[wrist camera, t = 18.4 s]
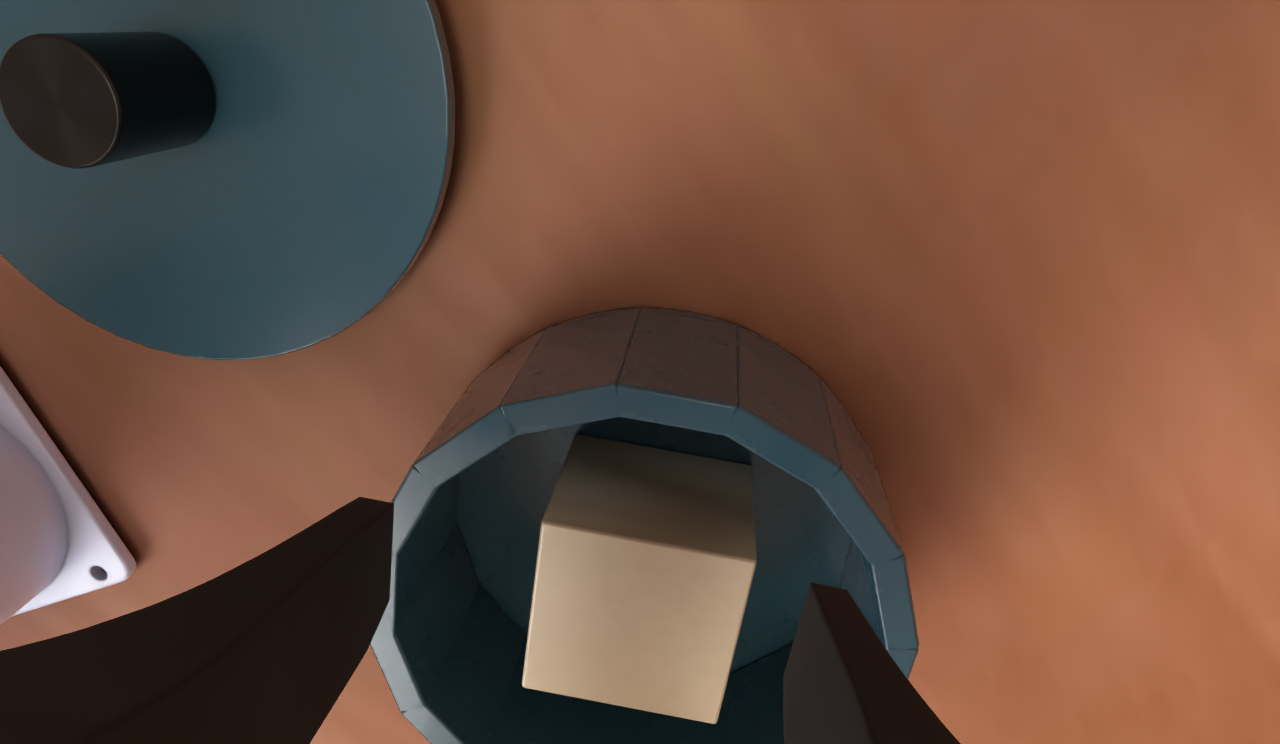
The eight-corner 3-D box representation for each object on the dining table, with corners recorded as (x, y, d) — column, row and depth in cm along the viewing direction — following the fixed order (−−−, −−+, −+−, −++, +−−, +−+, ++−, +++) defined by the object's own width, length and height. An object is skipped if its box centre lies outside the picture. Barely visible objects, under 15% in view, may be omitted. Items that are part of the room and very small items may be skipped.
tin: (427, 646, 25) (360, 785, 21) (451, 268, 21) (370, 339, 16) (818, 720, 25) (838, 879, 20) (932, 353, 20) (991, 451, 16)
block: (555, 578, 23) (520, 688, 20) (574, 431, 22) (540, 521, 18) (719, 608, 23) (716, 726, 19) (753, 464, 21) (757, 561, 18)
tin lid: (-26, 299, 22) (-190, 359, 18) (-127, -290, 17) (-382, -383, 13) (447, 384, 22) (384, 464, 18) (484, -195, 17) (409, -261, 13)
